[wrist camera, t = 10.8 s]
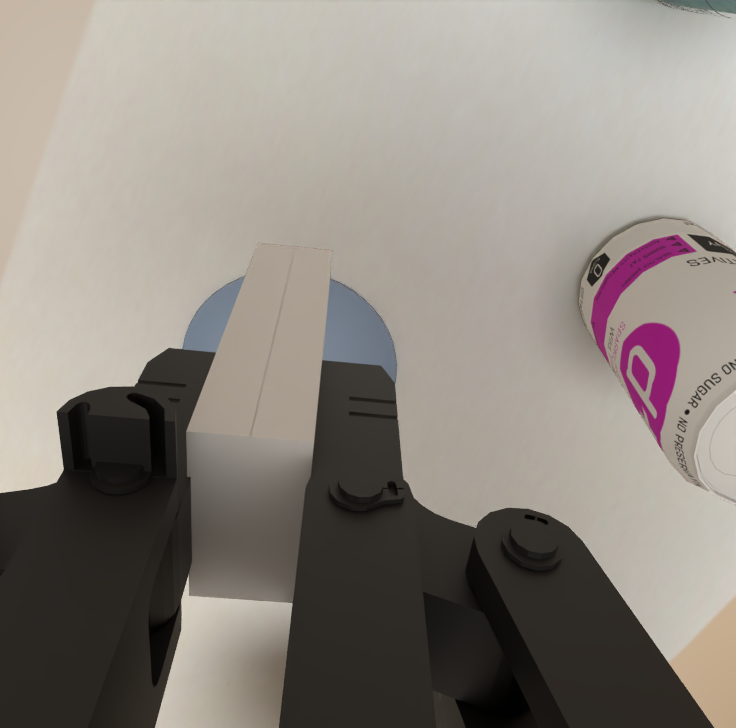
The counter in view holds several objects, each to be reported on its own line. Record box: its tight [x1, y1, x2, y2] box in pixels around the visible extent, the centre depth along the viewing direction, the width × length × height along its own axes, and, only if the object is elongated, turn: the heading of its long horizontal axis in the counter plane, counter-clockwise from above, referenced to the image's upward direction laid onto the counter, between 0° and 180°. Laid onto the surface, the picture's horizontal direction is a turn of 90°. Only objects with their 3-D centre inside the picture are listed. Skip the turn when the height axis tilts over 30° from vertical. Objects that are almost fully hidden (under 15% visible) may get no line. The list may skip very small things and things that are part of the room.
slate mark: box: [183, 277, 396, 382], centre depth 42 cm, size 13×13×1 cm
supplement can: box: [579, 218, 736, 505], centre depth 33 cm, size 8×8×15 cm
